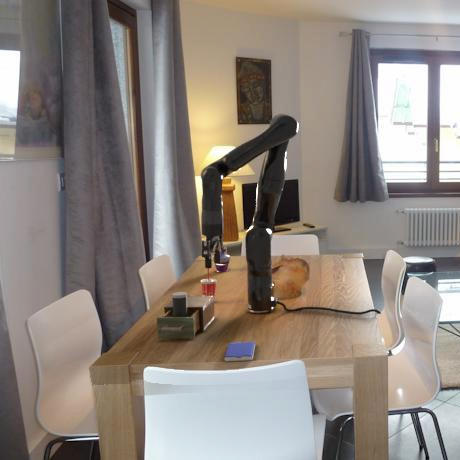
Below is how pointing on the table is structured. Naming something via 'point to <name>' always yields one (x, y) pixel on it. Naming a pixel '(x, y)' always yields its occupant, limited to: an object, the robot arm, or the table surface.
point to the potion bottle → (223, 261)
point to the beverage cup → (209, 287)
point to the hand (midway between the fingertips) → (213, 265)
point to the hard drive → (240, 351)
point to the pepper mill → (179, 304)
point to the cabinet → (199, 308)
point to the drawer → (179, 325)
